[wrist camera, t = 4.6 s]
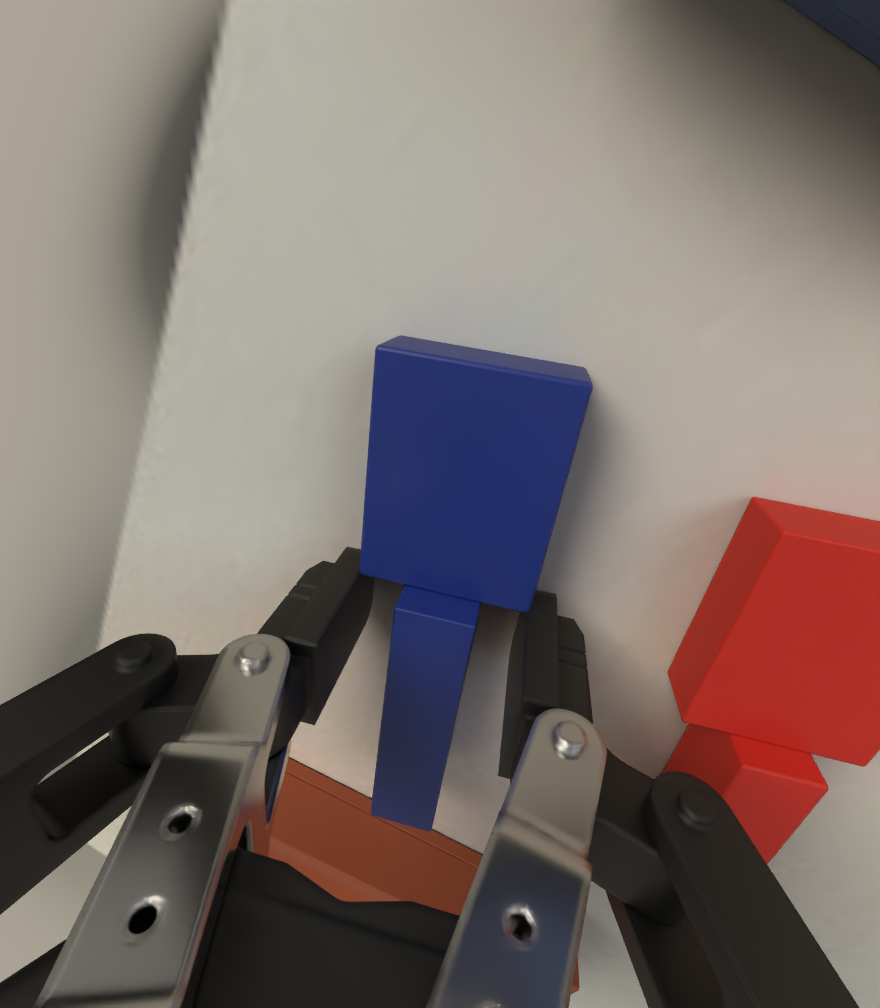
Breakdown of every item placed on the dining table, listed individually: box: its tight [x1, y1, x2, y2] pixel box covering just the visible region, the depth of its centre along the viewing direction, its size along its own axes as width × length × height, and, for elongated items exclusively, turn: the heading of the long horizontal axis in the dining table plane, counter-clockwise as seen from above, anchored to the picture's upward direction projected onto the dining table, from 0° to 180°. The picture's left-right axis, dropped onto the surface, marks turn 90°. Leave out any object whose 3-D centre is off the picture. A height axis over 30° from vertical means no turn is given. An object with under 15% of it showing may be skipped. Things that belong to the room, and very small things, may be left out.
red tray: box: [268, 758, 579, 994], centre depth 19 cm, size 15×9×2 cm, turn 64°
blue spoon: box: [360, 336, 593, 832], centre depth 12 cm, size 13×4×2 cm, turn 172°
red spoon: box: [662, 497, 880, 864], centre depth 12 cm, size 13×4×2 cm, turn 172°
